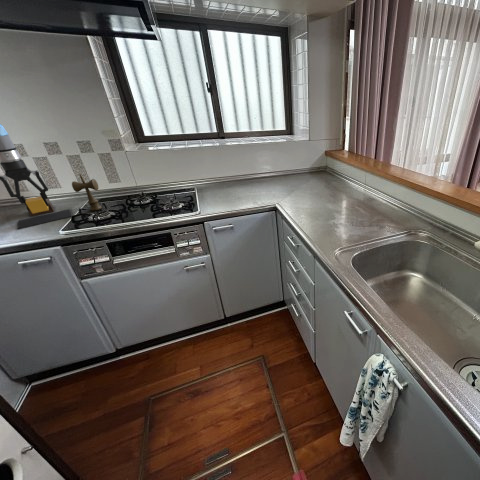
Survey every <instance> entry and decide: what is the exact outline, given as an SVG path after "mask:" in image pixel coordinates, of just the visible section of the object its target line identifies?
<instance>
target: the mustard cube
mask: <svg viewBox="0 0 480 480" xmlns="http://www.w3.org/2000/svg"><path fill="white" fill-rule="evenodd" d="M25 199H26V204H27V206H28V207H29V209H30V210H31V212H32V214H34V213H38V212H43V211H47V210H49V208H48V206H46V204H45V202H44V200H43V199H42V197H41V195H39V196H35V197H29V198H25Z"/></svg>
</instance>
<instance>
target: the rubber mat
mask: <svg viewBox="0 0 480 480" xmlns="http://www.w3.org/2000/svg"><path fill="white" fill-rule="evenodd" d="M67 218H72V213H71V210H70V209H64V210H60V211H54V212H50V213H46V214H41V215H36V216H32V217H29V218H24V219H23V218H22V219H20V220H18V222H17V230H21V229H26V228H29V227H35V226H37V225H38V226H39V225H43V224H47V223H51V222H56V221H59V220H64V219H67Z"/></svg>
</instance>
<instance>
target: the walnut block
mask: <svg viewBox="0 0 480 480" xmlns="http://www.w3.org/2000/svg"><path fill="white" fill-rule="evenodd" d="M46 201H47V202H48V204H49V206H48V208H49V210H47V211H43V212H38V213H34V214H32V212H31V210H28V208H27V207H26V206H25V209H26V210H27V212H28V213H29V215H30V218H32V217H37V216H41V215H46V214H50V213H55V209H54V208H55V207H54V206H53V205H54V204H52V202H51V200H50V198H48V199H46Z"/></svg>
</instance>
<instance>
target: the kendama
mask: <svg viewBox="0 0 480 480" xmlns="http://www.w3.org/2000/svg"><path fill="white" fill-rule="evenodd" d="M78 175H79V178H80V180H81V182H79V181H75V180H74V181H72V182H71V187H72V189H73V191H74V192H75V193H79V192H80V191H82V190H84V189H85V193H86V195H87V204H89V206H90V209H89V210H90V212H91V211H92V212H96V211H100V210H102V209H103V206H101V205H100V204H99V200H98V199H97V198H96V197H94V195H93V194H92V192H91V190H94V191H99V183H98V181H97V180H96V179H95V178H91V179H90V180H89V181H88V182H86V181H85V180H84V177H83V176H82V174H81V173H79V174H78ZM90 189H91V190H90Z"/></svg>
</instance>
